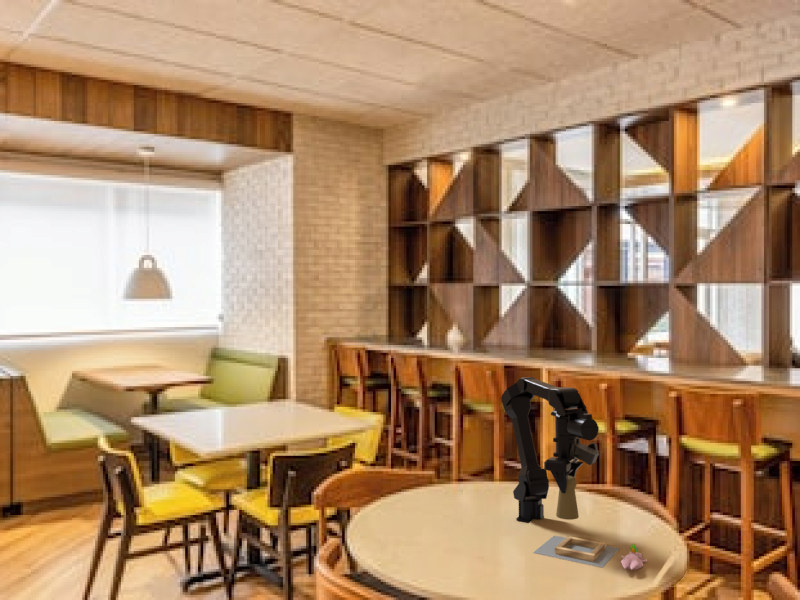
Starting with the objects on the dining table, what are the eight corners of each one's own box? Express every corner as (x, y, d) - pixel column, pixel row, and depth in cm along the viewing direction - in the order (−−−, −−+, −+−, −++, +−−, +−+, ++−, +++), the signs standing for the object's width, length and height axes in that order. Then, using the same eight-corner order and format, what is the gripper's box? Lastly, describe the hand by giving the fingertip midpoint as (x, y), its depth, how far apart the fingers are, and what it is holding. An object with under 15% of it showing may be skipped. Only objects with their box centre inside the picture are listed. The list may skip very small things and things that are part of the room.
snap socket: (554, 553, 175) (554, 547, 175) (568, 541, 183) (568, 536, 183) (593, 561, 169) (593, 555, 169) (605, 549, 177) (605, 543, 177)
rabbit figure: (623, 562, 175) (614, 574, 162) (624, 538, 176) (614, 547, 162) (649, 566, 172) (642, 578, 159) (650, 541, 173) (642, 552, 160)
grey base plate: (532, 556, 175) (532, 552, 175) (554, 539, 188) (554, 535, 188) (602, 571, 165) (602, 567, 165) (620, 552, 178) (620, 548, 178)
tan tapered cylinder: (579, 520, 184) (578, 479, 184) (556, 519, 186) (555, 478, 186) (577, 513, 190) (577, 473, 190) (555, 512, 192) (555, 473, 192)
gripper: (584, 443, 176) (585, 503, 176) (605, 431, 191) (606, 486, 191) (542, 438, 182) (543, 497, 182) (566, 427, 198) (567, 481, 197)
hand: (566, 490), depth 188 cm, fingers closed on tan tapered cylinder, 5 cm apart
